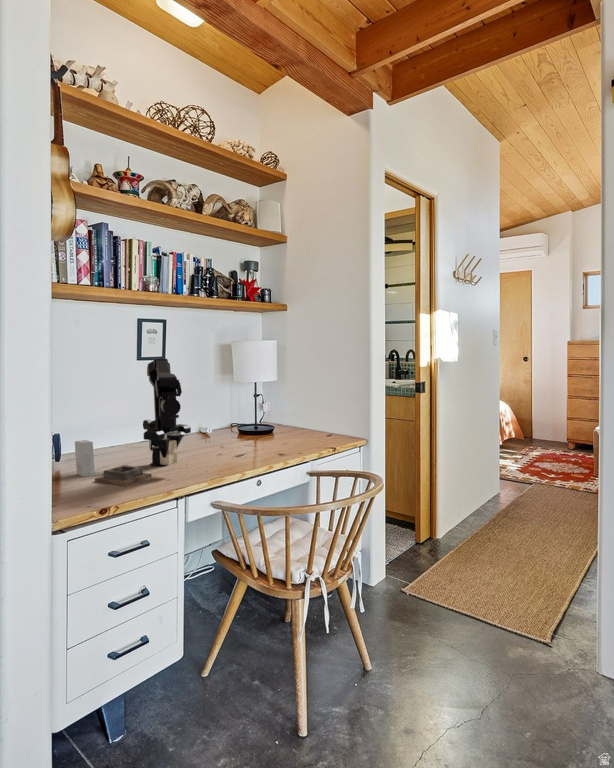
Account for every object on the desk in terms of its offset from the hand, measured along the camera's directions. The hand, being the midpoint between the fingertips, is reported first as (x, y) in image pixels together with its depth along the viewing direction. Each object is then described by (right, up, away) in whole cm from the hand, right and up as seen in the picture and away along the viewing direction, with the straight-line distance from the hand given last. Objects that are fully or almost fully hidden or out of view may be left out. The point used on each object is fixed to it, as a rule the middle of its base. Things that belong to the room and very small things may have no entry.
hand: (168, 456), depth 174 cm
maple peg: (0, -3, 0) cm, 3 cm away
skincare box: (-31, -7, +3) cm, 32 cm away
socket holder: (-15, -7, -3) cm, 17 cm away
